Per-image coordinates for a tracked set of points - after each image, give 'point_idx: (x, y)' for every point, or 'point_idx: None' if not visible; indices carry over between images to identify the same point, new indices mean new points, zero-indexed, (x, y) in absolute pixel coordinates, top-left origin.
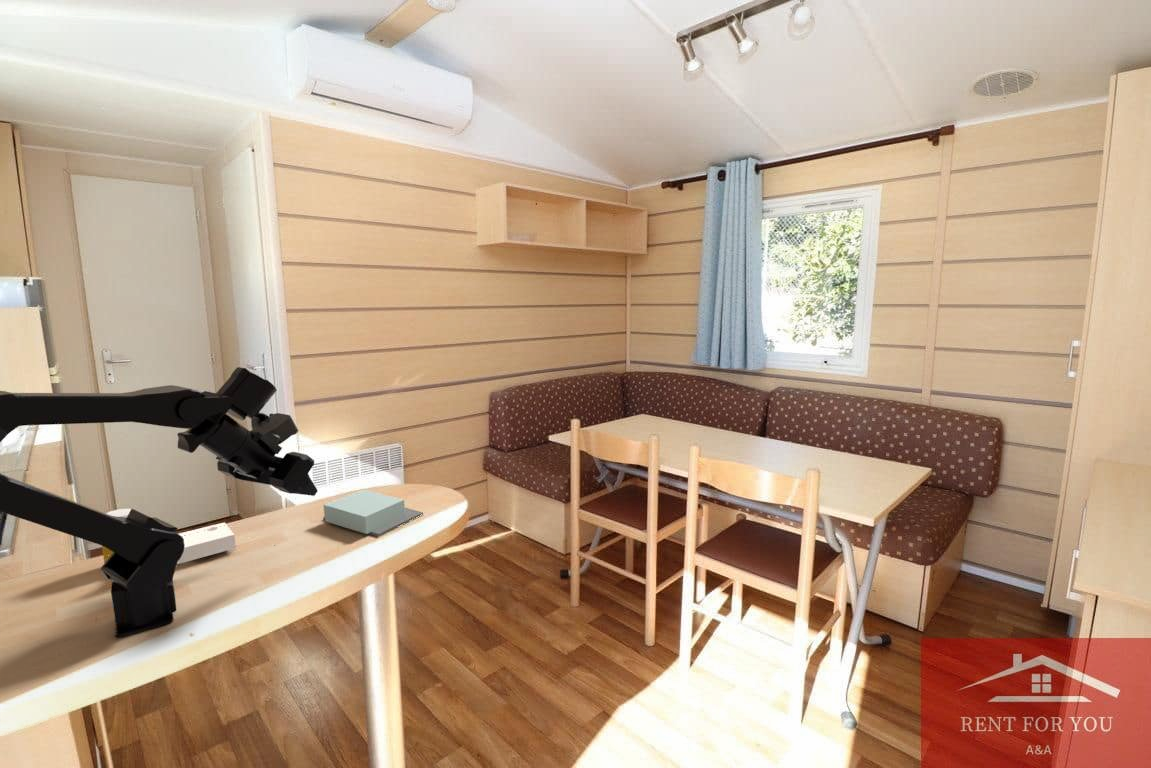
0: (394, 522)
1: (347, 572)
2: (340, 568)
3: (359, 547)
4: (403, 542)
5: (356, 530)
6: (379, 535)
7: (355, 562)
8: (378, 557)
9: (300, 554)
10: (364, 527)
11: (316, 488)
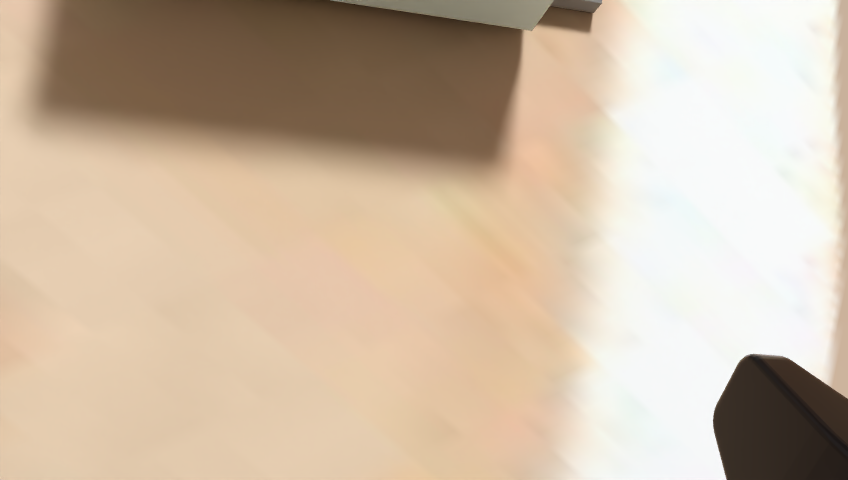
0: None
1: None
2: (710, 436)
3: (597, 173)
4: (772, 21)
5: (435, 14)
6: (597, 3)
7: (727, 337)
8: (792, 230)
9: (324, 415)
10: (531, 7)
11: (834, 390)
